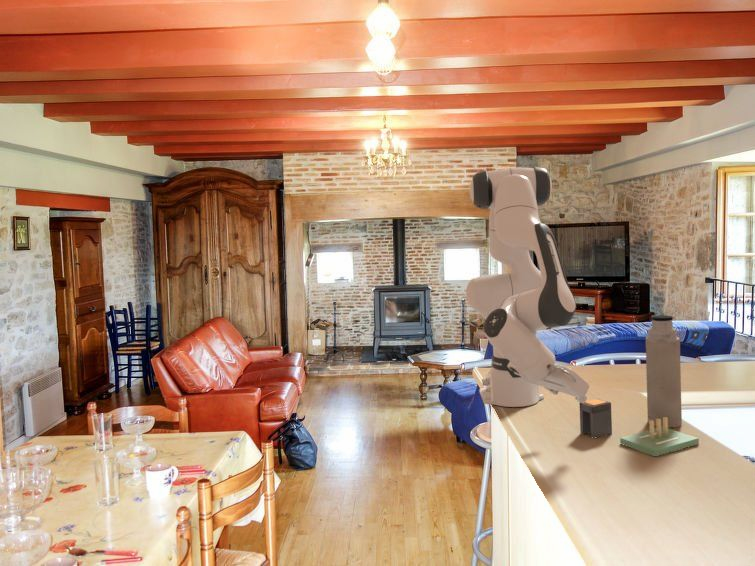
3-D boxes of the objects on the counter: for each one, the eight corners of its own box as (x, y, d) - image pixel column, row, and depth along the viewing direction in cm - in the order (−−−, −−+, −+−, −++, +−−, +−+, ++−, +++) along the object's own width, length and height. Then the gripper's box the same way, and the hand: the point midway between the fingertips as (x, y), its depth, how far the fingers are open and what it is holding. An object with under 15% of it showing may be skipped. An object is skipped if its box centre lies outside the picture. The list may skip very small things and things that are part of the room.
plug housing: (593, 438, 148) (592, 406, 148) (580, 433, 152) (579, 401, 152) (612, 433, 151) (610, 401, 150) (598, 429, 155) (597, 397, 154)
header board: (655, 457, 135) (654, 430, 134) (620, 443, 144) (619, 419, 143) (698, 444, 140) (698, 419, 140) (662, 432, 149) (661, 408, 149)
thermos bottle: (646, 417, 161) (643, 313, 159) (679, 418, 159) (677, 313, 156) (649, 427, 154) (646, 318, 151) (684, 428, 151) (681, 318, 149)
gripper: (573, 358, 134) (608, 394, 139) (516, 345, 153) (548, 377, 157) (558, 381, 132) (594, 417, 137) (502, 365, 151) (535, 397, 156)
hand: (569, 396), depth 147 cm, fingers open, 8 cm apart
